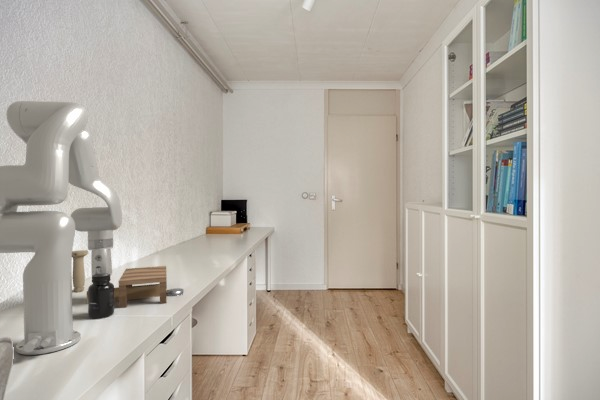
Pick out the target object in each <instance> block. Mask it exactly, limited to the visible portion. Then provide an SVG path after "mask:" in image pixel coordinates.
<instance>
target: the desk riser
mask: <svg viewBox="0 0 600 400" xmlns="http://www.w3.org/2000/svg"><path fill="white" fill-rule="evenodd" d="M147 284H160V297H159V304H160V305H162V304H167V296H166V291H167V290H168V289H167V286H168V285H167V284H168V283H167V265H159V266H148V267H146V266H145V267H144V266H143V267H134V268H133V267H131V268H130V267H129V268H125V270H124V272H122V275H121V276H120V279H119V280H118V287H119V301H118V308H119V309H123V308H127V306H128V304H127V301H128V300H127V290H126V287H129V286H136V285H147Z"/></svg>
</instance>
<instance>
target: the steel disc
mask: <svg viewBox="0 0 600 400" xmlns="http://www.w3.org/2000/svg"><path fill="white" fill-rule="evenodd" d="M184 291H185V290H184V288H178V287H177V288H170V289H166V297H178V296H177V295H179V296H182V295H184V294H185V292H184ZM183 293H184V294H183ZM181 294H182V295H181Z"/></svg>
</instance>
